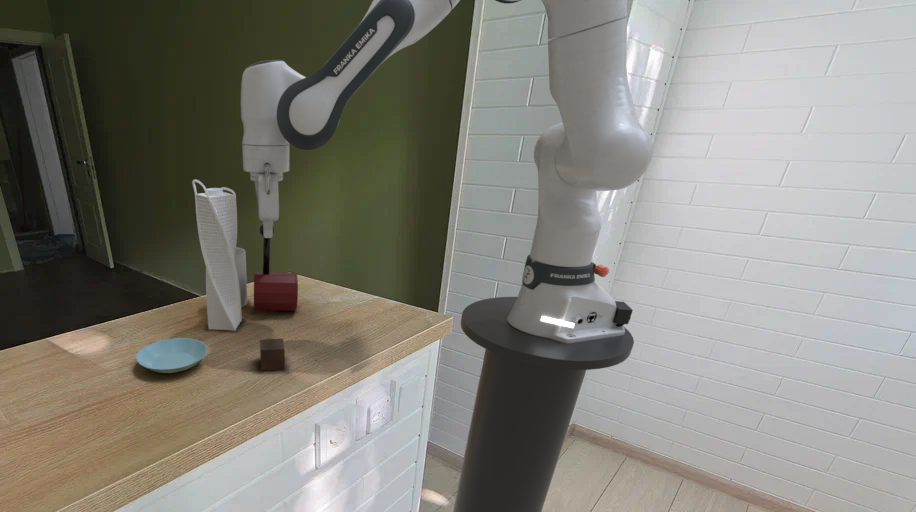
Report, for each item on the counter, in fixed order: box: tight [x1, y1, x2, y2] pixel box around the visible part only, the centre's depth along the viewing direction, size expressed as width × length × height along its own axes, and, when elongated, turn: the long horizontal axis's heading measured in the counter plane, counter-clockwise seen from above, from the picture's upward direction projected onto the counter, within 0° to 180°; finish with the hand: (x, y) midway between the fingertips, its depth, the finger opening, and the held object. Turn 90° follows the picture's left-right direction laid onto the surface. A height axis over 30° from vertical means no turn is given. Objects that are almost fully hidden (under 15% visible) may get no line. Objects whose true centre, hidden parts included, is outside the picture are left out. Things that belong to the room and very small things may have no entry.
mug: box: [234, 246, 248, 308], centre depth 104 cm, size 10×7×12 cm, turn 169°
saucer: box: [135, 337, 208, 374], centre depth 83 cm, size 12×12×2 cm
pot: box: [253, 223, 299, 312], centre depth 101 cm, size 18×8×9 cm
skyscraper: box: [191, 178, 243, 332], centre depth 91 cm, size 8×8×28 cm
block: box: [259, 338, 286, 372], centre depth 82 cm, size 4×4×4 cm
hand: (267, 234), depth 97 cm, fingers closed on pot, 3 cm apart
